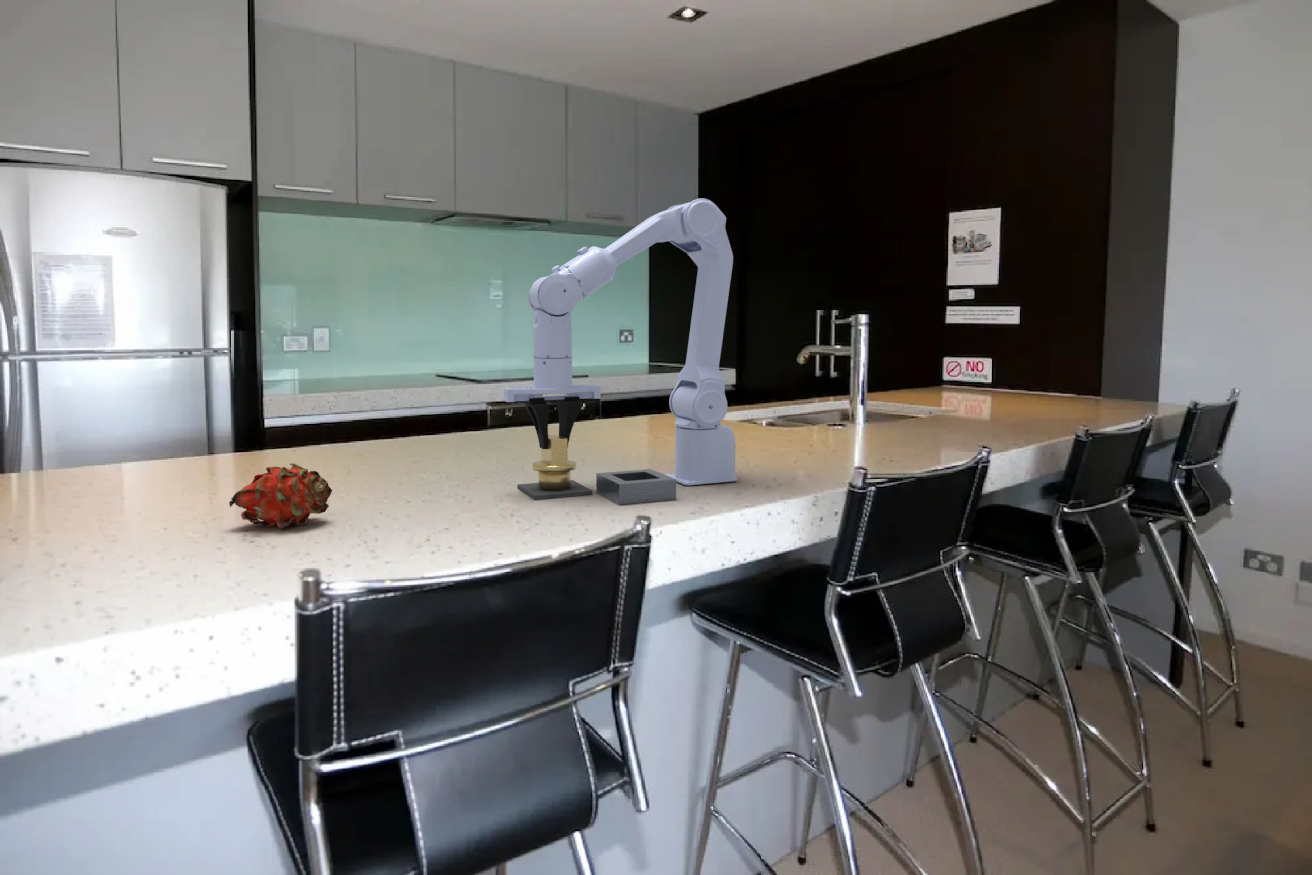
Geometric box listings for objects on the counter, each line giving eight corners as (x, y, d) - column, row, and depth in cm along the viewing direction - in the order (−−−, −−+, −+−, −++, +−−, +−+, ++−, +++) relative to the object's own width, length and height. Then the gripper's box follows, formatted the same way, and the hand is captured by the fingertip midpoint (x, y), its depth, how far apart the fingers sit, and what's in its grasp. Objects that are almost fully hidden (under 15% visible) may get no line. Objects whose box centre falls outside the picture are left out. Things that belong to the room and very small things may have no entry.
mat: (572, 483, 134) (572, 479, 134) (592, 494, 126) (592, 490, 126) (517, 488, 131) (517, 484, 131) (534, 499, 123) (534, 495, 123)
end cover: (568, 481, 133) (567, 433, 132) (582, 488, 127) (582, 438, 126) (527, 484, 130) (526, 435, 129) (540, 492, 124) (539, 440, 123)
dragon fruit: (341, 534, 109) (241, 556, 105) (334, 486, 115) (238, 505, 111) (330, 491, 103) (223, 512, 99) (323, 443, 109) (221, 461, 105)
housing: (650, 487, 132) (650, 468, 131) (676, 499, 123) (676, 479, 123) (596, 492, 128) (596, 473, 127) (619, 505, 120) (619, 484, 119)
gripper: (589, 355, 132) (589, 441, 134) (498, 357, 126) (499, 446, 128) (605, 357, 126) (605, 447, 128) (510, 359, 120) (512, 453, 122)
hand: (553, 447), depth 128 cm, fingers closed on end cover, 2 cm apart
